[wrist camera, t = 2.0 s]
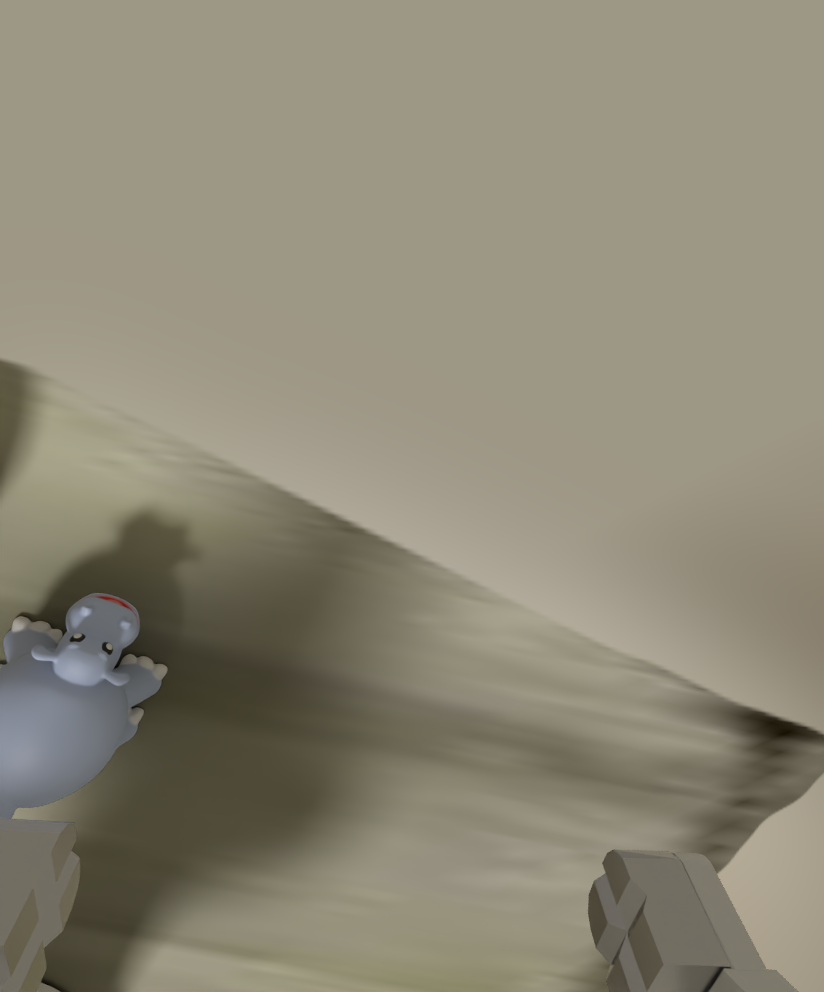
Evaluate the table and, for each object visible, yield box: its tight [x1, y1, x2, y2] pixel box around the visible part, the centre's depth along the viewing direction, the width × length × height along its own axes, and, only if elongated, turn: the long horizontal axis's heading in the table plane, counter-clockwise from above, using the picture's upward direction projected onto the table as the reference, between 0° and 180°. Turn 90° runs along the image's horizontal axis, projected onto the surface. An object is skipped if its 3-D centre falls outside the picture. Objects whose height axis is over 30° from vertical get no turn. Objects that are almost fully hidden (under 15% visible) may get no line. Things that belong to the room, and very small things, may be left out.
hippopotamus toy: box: [0, 593, 167, 819], centre depth 38 cm, size 11×15×10 cm
